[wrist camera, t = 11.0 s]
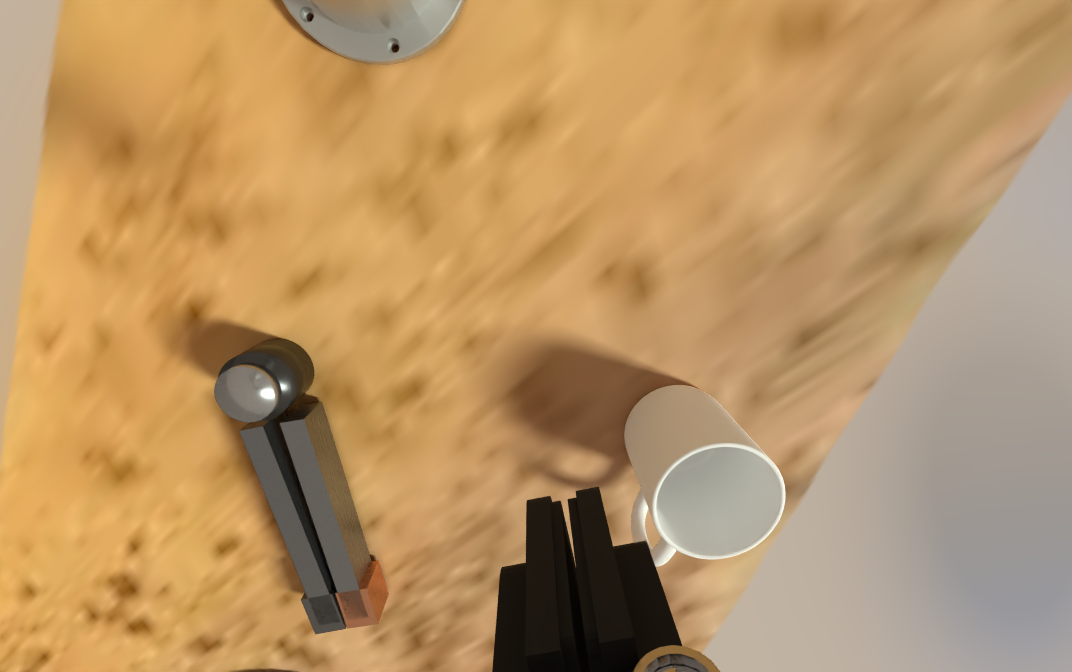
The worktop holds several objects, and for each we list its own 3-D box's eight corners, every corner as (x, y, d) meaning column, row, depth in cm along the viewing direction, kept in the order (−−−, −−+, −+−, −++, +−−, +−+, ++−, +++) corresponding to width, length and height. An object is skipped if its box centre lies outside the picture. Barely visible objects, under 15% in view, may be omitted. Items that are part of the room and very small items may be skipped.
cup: (743, 409, 40) (813, 478, 30) (665, 523, 43) (705, 619, 33) (656, 364, 39) (698, 420, 29) (581, 484, 42) (597, 572, 32)
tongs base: (231, 347, 38) (198, 364, 34) (301, 332, 38) (275, 347, 34) (332, 600, 44) (313, 638, 41) (392, 589, 44) (379, 626, 40)
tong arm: (245, 350, 38) (205, 372, 33) (310, 339, 37) (279, 360, 33) (332, 602, 44) (309, 649, 39) (388, 593, 44) (372, 640, 39)
